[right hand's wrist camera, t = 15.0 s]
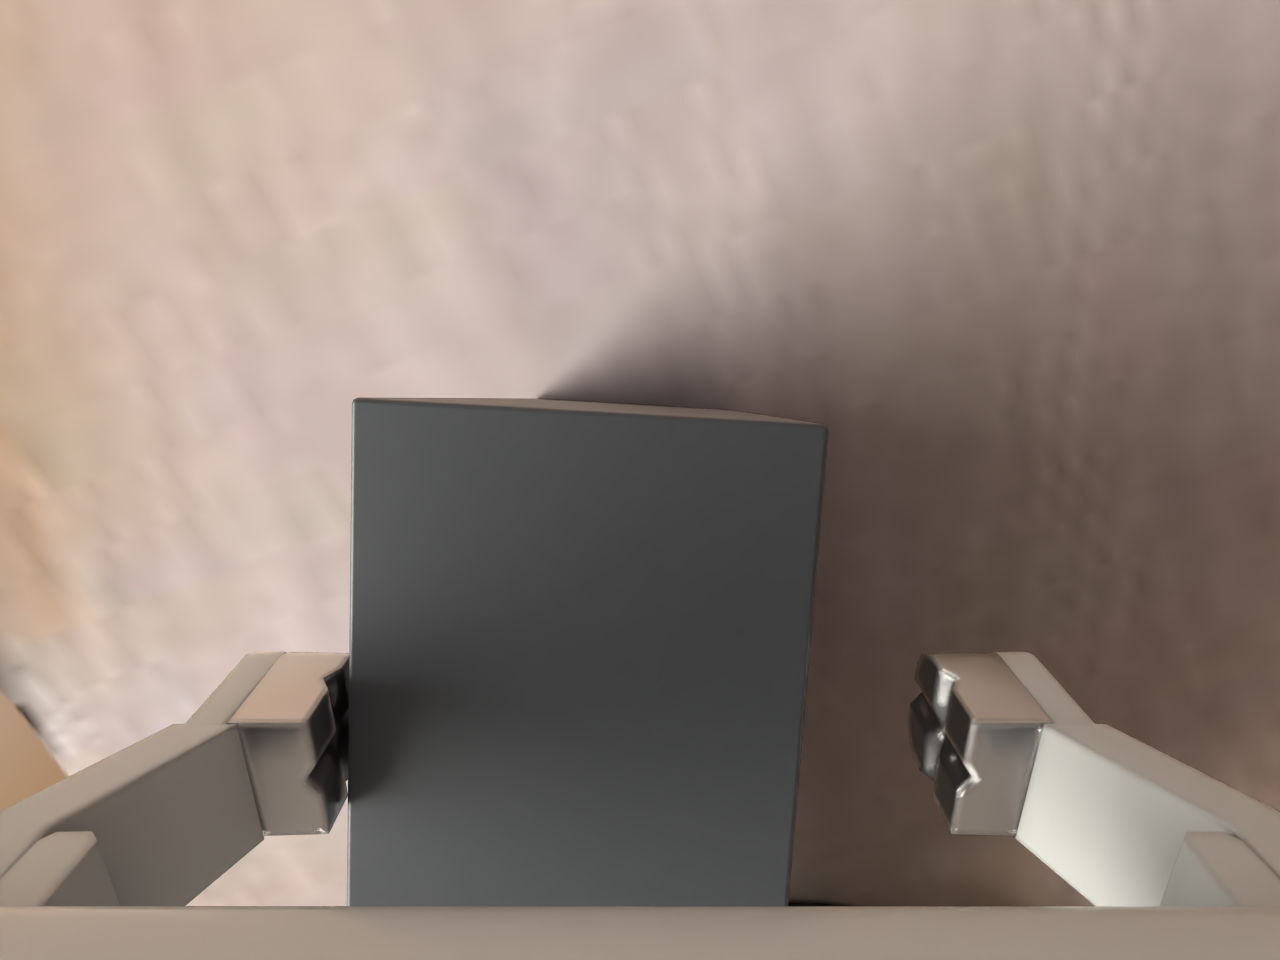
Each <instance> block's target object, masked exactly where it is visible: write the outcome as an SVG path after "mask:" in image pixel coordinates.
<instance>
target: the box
mask: <svg viewBox="0 0 1280 960" xmlns="http://www.w3.org/2000/svg"><path fill="white" fill-rule="evenodd" d="M827 443H828V428H827V426H826V425H824V424H820V423H814V422H807V421H800V420H794V419H787V418H781V417H774V416H767V415H761V414H754V413H748V412H741V411H734V410H725V409H708V408H690V407H672V406H654V405H636V404H619V403H601V402H583V401H565V400H547V399H493V398H356V399H354V400H353V403H352V464H351V560H350V655H349V751H348V846H347V906H725V907H768V906H788V902H789V890H790V878H791V867H792V855H793V843H794V831H795V819H796V808H797V796H798V784H799V772H800V761H801V749H802V737H803V725H804V713H805V702H806V690H807V678H808V666H809V655H810V643H811V631H812V619H813V608H814V596H815V584H816V572H817V560H818V549H819V537H820V525H821V513H822V502H823V490H824V478H825V466H826V454H827Z"/></svg>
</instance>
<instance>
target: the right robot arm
mask: <svg viewBox="0 0 1280 960" xmlns="http://www.w3.org/2000/svg"><path fill="white" fill-rule="evenodd" d="M349 655H350V653H311V652H288V653H286V652H254V653H250V654H247V655H246V656H245V657H244V658H243V659H242V660H241V661H240V662H239V663H238V664H237V666H236V667H235V668H234V669H233V670H232V671H231V672H230V673H229V675H228V676H227V677H226V678H225V679H224V680H223V681H222V683H221V684H220V685H219V686H218V687H217V688H216V689H215V690H214V692H213V693H212V694H211V695H210V696H209V697H208V698H207V700H206V701H205V702H204V703H203V704H202V705H201V706H200V707H199V709H198V710H197V711H196V712H195V713H194V714H193V715H192V717H191V718H190V719H189V720H188V721H187V722H186V723H185V724H173V725H171V726H169V727H167V728H165V729H163V730H161V731H159V732H157V733H155V734H153V735H151V736H149V737H147V738H145V739H143V740H141V741H139V742H137V743H135V744H133V745H131V746H129V747H127V748H125V749H123V750H121V751H119V752H117V753H115V754H113V755H111V756H109V757H107V758H105V759H103V760H101V761H99V762H97V763H95V764H93V765H91V766H89V767H87V768H85V769H83V770H81V771H79V772H77V773H75V774H73V775H71V776H69V777H67V778H65V779H64V780H61V781H59V782H57V783H55V784H54V785H51V786H50V787H48V788H46V789H44V790H42V791H40V792H38V793H36V794H34V795H32V796H30V797H28V798H26V799H24V800H22V801H20V802H18V803H16V804H14V805H12V806H10V807H8V808H6V809H4V810H2V811H0V960H1280V811H1278V810H1276V809H1274V808H1272V807H1270V806H1268V805H1266V804H1264V803H1262V802H1260V801H1258V800H1256V799H1254V798H1252V797H1250V796H1248V795H1246V794H1244V793H1242V792H1240V791H1238V790H1236V789H1234V788H1232V787H1230V786H1228V785H1226V784H1224V783H1222V782H1220V781H1218V780H1216V779H1214V778H1212V777H1210V776H1208V775H1206V774H1204V773H1202V772H1200V771H1198V770H1196V769H1194V768H1192V767H1190V766H1189V765H1187V764H1185V763H1183V762H1181V761H1179V760H1177V759H1175V758H1173V757H1171V756H1169V755H1167V754H1165V753H1163V752H1161V751H1159V750H1157V749H1155V748H1153V747H1151V746H1149V745H1147V744H1145V743H1143V742H1141V741H1139V740H1137V739H1135V738H1133V737H1131V736H1129V735H1127V734H1125V733H1123V732H1121V731H1119V730H1117V729H1115V728H1113V727H1111V726H1109V725H1107V724H1095V723H1094V722H1093V721H1092V720H1091V719H1090V718H1089V717H1088V715H1087V714H1086V713H1085V712H1084V711H1083V710H1082V709H1081V707H1080V706H1079V705H1078V704H1077V703H1076V702H1075V701H1074V700H1073V698H1072V697H1071V696H1070V695H1069V694H1068V693H1067V692H1066V690H1065V689H1064V688H1063V687H1062V686H1061V685H1060V684H1059V683H1058V681H1057V680H1056V679H1055V678H1054V677H1053V676H1052V675H1051V673H1050V672H1049V671H1048V670H1047V669H1046V668H1045V667H1044V666H1043V664H1042V663H1041V662H1040V661H1039V660H1038V659H1037V658H1036V656H1034V655H1033V654H1030V653H1028V652H1026V651H1023V652H993V653H977V654H922V655H921V657H920V659H919V661H918V663H917V667H916V672H915V678H914V679H915V680H916V682H917V684H918V686H919V687H920V689H921V691H922V693H921V694H920V695H919V696H918V697H917V698H916V699H915V700H914V701H913V702H912V703H911V704H910V710H909V718H908V732H909V743H910V746H911V750H912V753H913V757H914V759H915V761H916V763H917V765H918V768H919V770H920V771H921V772H922V773H924V774H925V775H927V776H928V777H929V778H931V779H932V780H934V787H933V793H932V796H933V798H934V800H935V802H936V804H937V806H938V808H939V810H940V812H941V814H942V816H943V818H944V820H945V822H946V824H947V826H948V828H949V830H950V832H951V834H972V835H1008V836H1016V839H1017V840H1018V841H1019V842H1020V843H1021V844H1022V845H1024V846H1025V847H1026V848H1027V849H1028V850H1030V851H1031V852H1032V853H1033V854H1034V855H1035V856H1037V857H1038V858H1039V859H1040V860H1041V861H1043V862H1044V863H1045V864H1046V865H1047V866H1049V867H1050V868H1051V869H1052V870H1053V871H1054V872H1056V873H1057V874H1058V875H1059V876H1060V877H1062V878H1063V879H1064V880H1065V881H1066V882H1067V883H1069V884H1070V885H1071V886H1072V887H1073V888H1075V889H1076V890H1077V891H1078V892H1079V893H1081V894H1082V895H1083V896H1084V897H1085V898H1086V899H1088V900H1089V901H1090V902H1091V903H1092V904H1094V905H1095V906H768V907H725V906H185V905H187V904H188V903H189V902H190V901H191V900H193V899H194V898H195V897H196V896H197V895H199V894H200V893H201V892H202V891H203V890H204V889H206V888H207V887H208V886H209V885H210V884H212V883H213V882H214V881H215V880H216V879H218V878H219V877H220V876H221V875H222V874H223V873H225V872H226V871H227V870H228V869H229V868H231V867H232V866H233V865H234V864H235V863H237V862H238V861H239V860H240V859H241V858H242V857H244V856H245V855H246V854H247V853H248V852H250V851H251V850H252V849H253V848H254V847H256V846H257V845H258V844H259V843H260V842H261V841H263V840H264V836H272V835H306V834H329V832H330V830H331V828H332V826H333V824H334V822H335V820H336V818H337V816H338V814H339V812H340V810H341V808H342V806H343V804H344V802H345V800H346V798H347V796H348V793H347V787H346V780H348V751H349Z"/></svg>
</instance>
